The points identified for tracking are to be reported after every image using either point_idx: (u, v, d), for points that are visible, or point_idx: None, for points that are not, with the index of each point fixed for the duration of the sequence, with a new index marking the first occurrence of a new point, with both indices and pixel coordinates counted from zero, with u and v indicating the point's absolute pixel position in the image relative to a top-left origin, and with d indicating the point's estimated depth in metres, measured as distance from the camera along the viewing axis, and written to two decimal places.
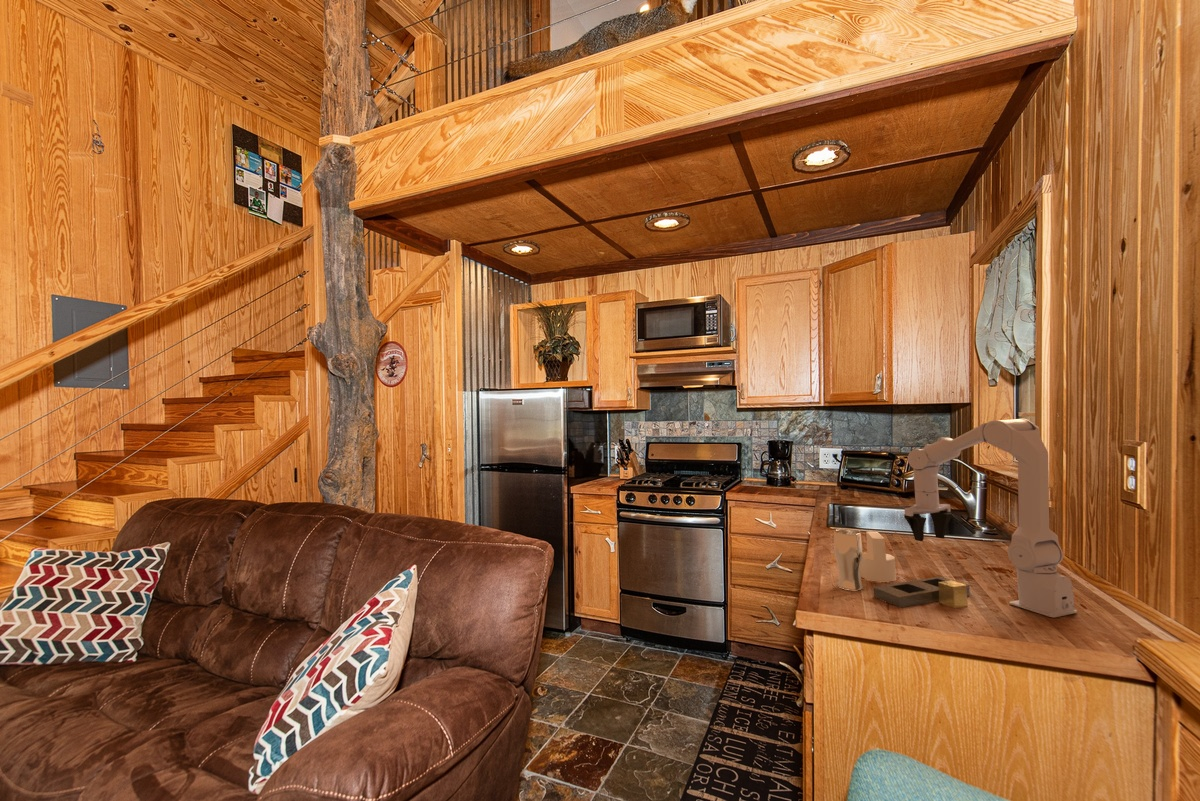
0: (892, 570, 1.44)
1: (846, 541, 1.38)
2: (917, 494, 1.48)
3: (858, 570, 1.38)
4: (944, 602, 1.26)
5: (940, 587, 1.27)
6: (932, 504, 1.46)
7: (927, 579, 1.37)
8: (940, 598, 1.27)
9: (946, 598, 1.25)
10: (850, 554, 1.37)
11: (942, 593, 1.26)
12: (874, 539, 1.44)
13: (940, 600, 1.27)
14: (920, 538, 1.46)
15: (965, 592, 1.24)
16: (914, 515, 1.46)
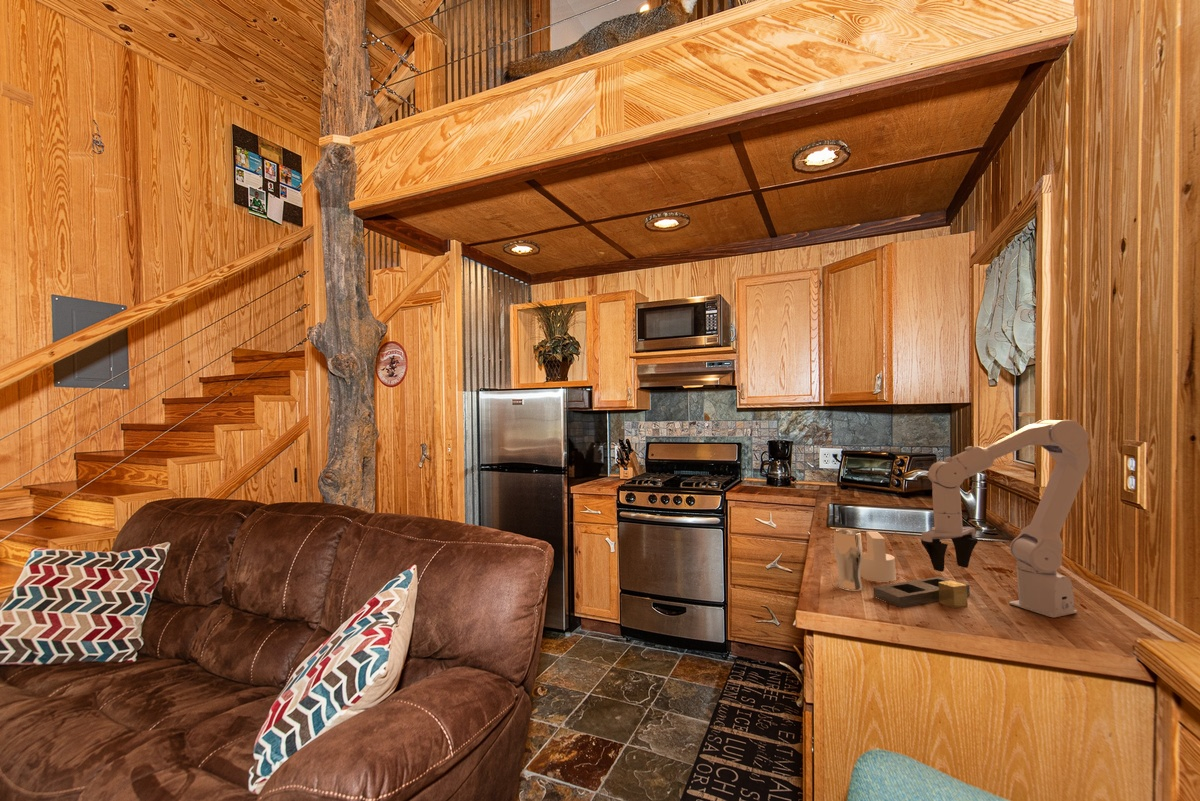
0: (892, 570, 1.44)
1: (846, 541, 1.38)
2: (936, 515, 1.26)
3: (858, 570, 1.38)
4: (944, 602, 1.26)
5: (940, 587, 1.27)
6: (954, 528, 1.23)
7: (927, 579, 1.37)
8: (940, 598, 1.27)
9: (946, 598, 1.25)
10: (850, 554, 1.37)
11: (942, 593, 1.26)
12: (874, 539, 1.44)
13: (940, 600, 1.27)
14: (940, 568, 1.24)
15: (965, 592, 1.24)
16: (933, 541, 1.24)
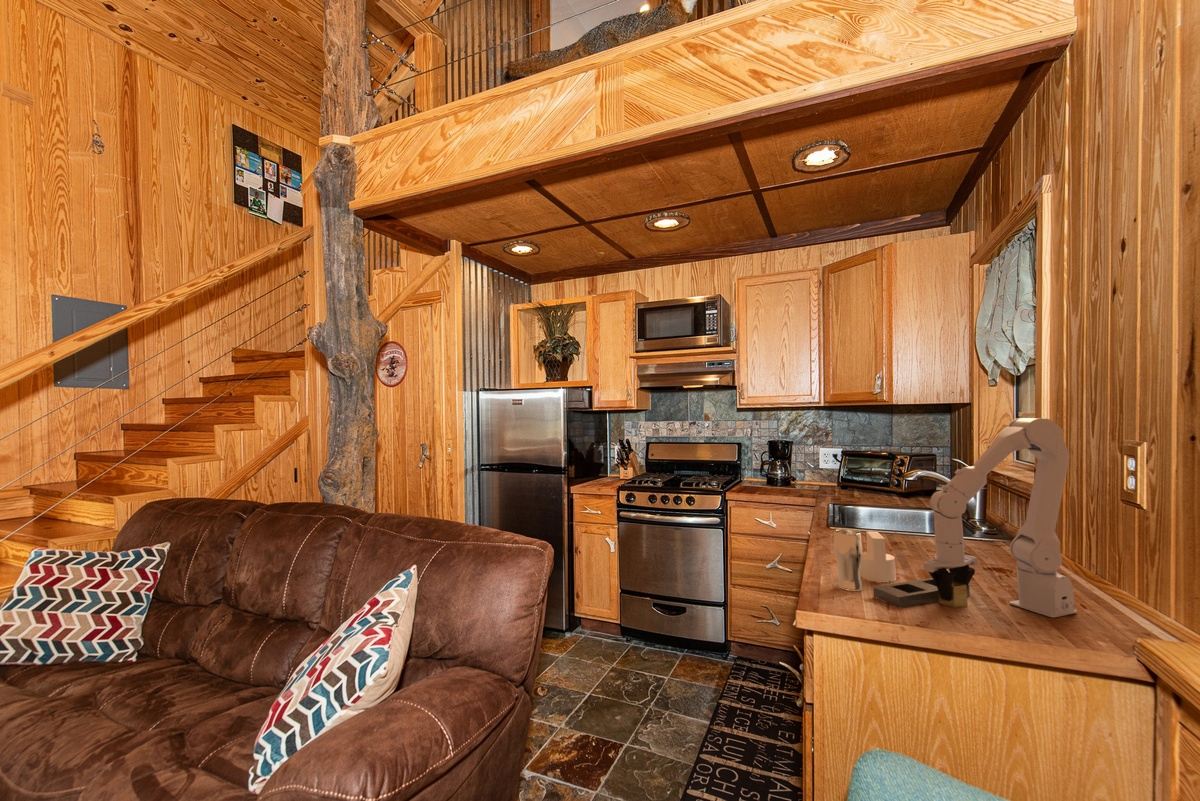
0: (892, 570, 1.44)
1: (846, 541, 1.38)
2: (938, 545, 1.26)
3: (858, 570, 1.38)
4: (944, 602, 1.26)
5: None
6: (956, 559, 1.23)
7: (927, 579, 1.37)
8: (940, 598, 1.27)
9: None
10: (850, 554, 1.37)
11: None
12: (874, 539, 1.44)
13: (940, 600, 1.27)
14: (947, 597, 1.24)
15: (965, 592, 1.24)
16: (940, 570, 1.24)
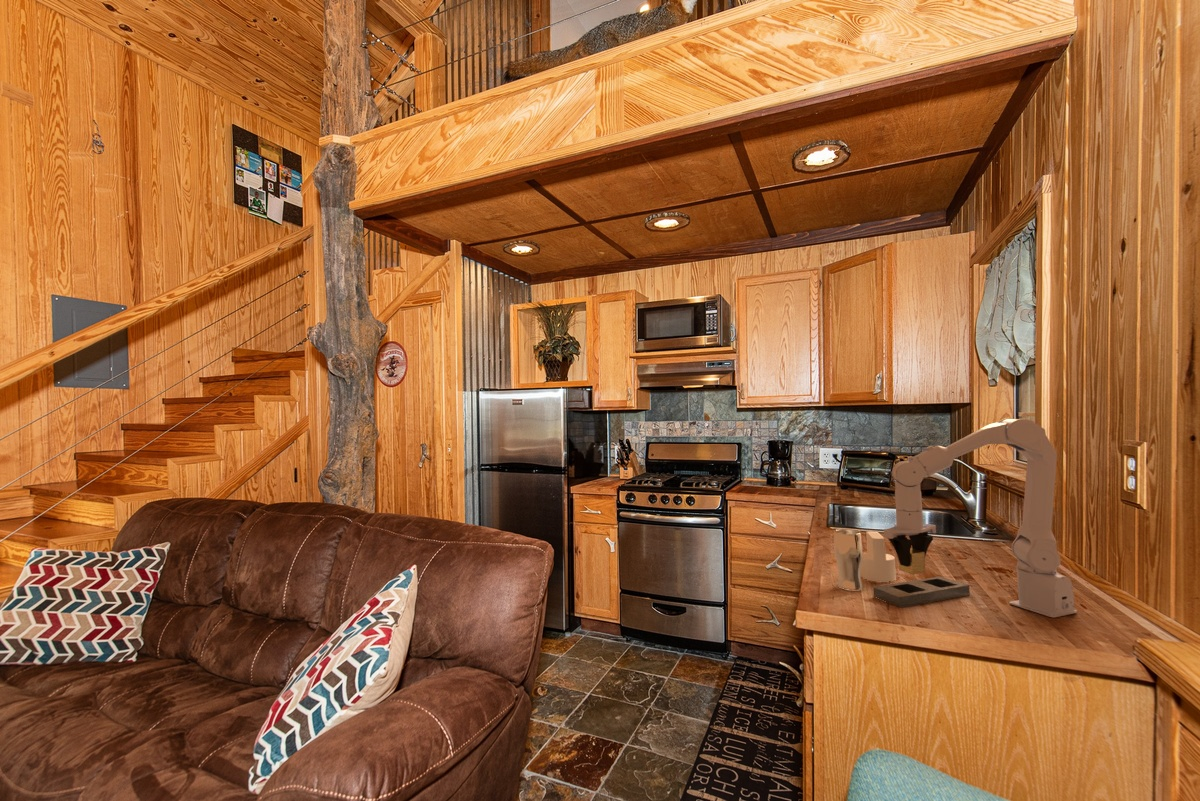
0: (892, 570, 1.44)
1: (846, 541, 1.38)
2: (898, 513, 1.30)
3: (858, 570, 1.38)
4: (903, 569, 1.30)
5: None
6: (914, 525, 1.28)
7: (927, 579, 1.37)
8: (900, 565, 1.31)
9: None
10: (850, 554, 1.37)
11: None
12: (874, 539, 1.44)
13: (900, 567, 1.31)
14: (906, 563, 1.29)
15: (923, 559, 1.29)
16: (899, 537, 1.28)
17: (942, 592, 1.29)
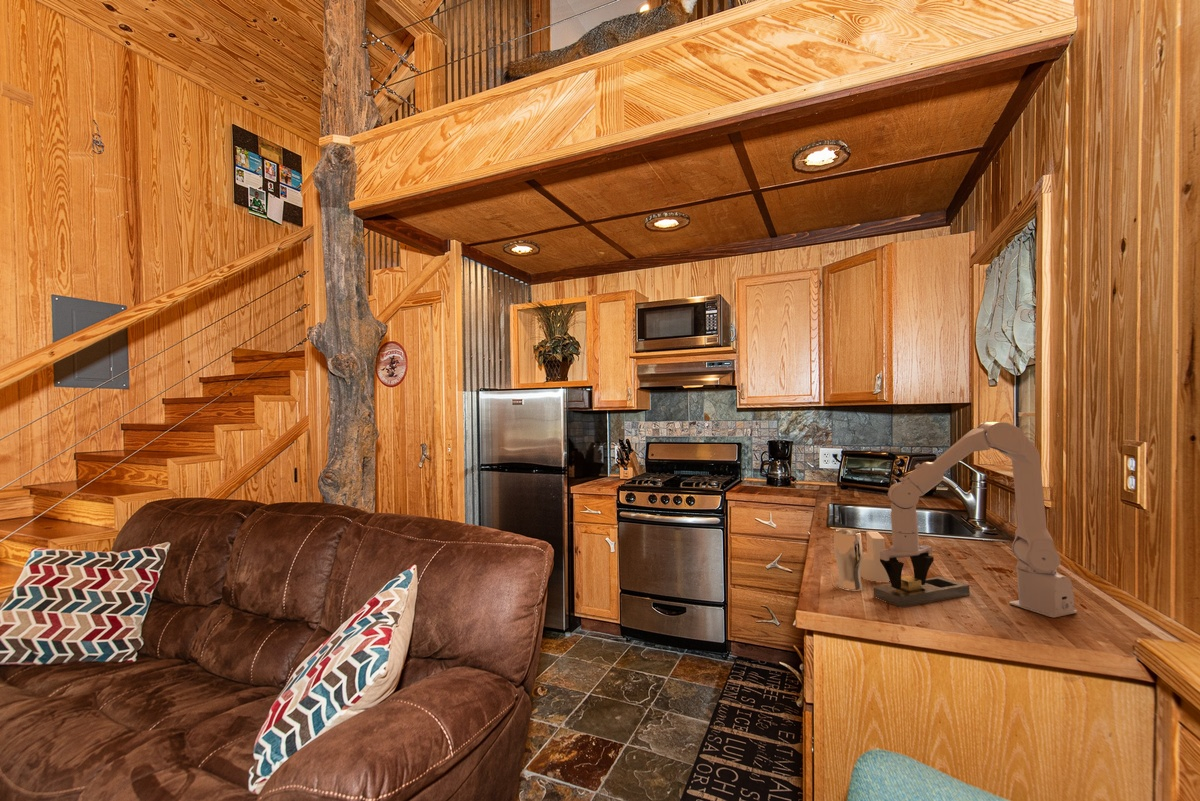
0: None
1: (846, 541, 1.38)
2: (894, 535, 1.31)
3: (858, 570, 1.38)
4: None
5: None
6: (910, 547, 1.28)
7: (927, 579, 1.37)
8: None
9: None
10: (850, 554, 1.37)
11: None
12: (874, 539, 1.44)
13: None
14: (897, 585, 1.29)
15: (920, 587, 1.29)
16: (890, 559, 1.28)
17: (942, 592, 1.29)
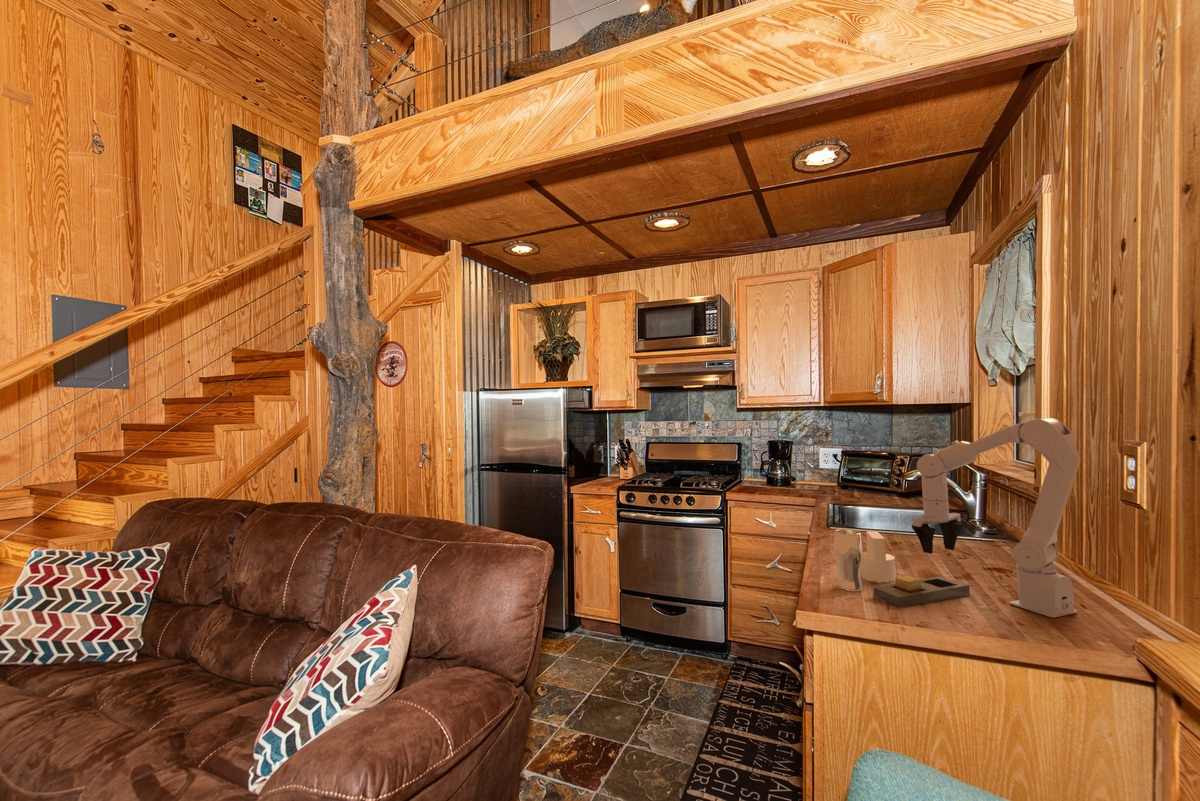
0: (892, 570, 1.44)
1: (846, 541, 1.38)
2: (925, 503, 1.38)
3: (858, 570, 1.38)
4: None
5: (897, 582, 1.32)
6: (941, 514, 1.36)
7: (927, 579, 1.37)
8: None
9: None
10: (850, 554, 1.37)
11: (898, 588, 1.31)
12: (874, 539, 1.44)
13: None
14: (929, 550, 1.36)
15: (920, 587, 1.29)
16: (923, 525, 1.36)
17: (942, 592, 1.29)
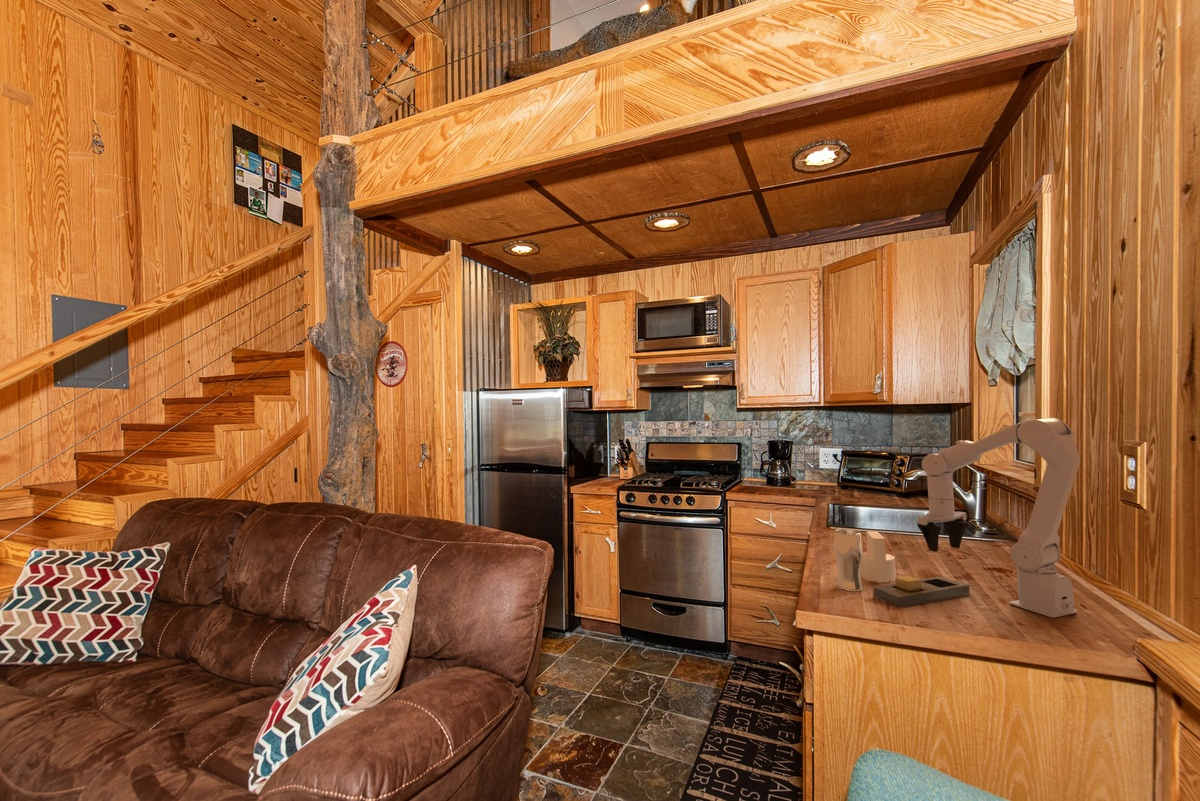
0: (892, 570, 1.44)
1: (846, 541, 1.38)
2: (931, 501, 1.40)
3: (858, 570, 1.38)
4: None
5: (897, 582, 1.32)
6: (947, 513, 1.37)
7: (927, 579, 1.37)
8: None
9: None
10: (850, 554, 1.37)
11: (898, 588, 1.31)
12: (874, 539, 1.44)
13: None
14: (934, 548, 1.38)
15: (920, 587, 1.29)
16: (928, 524, 1.37)
17: (942, 592, 1.29)
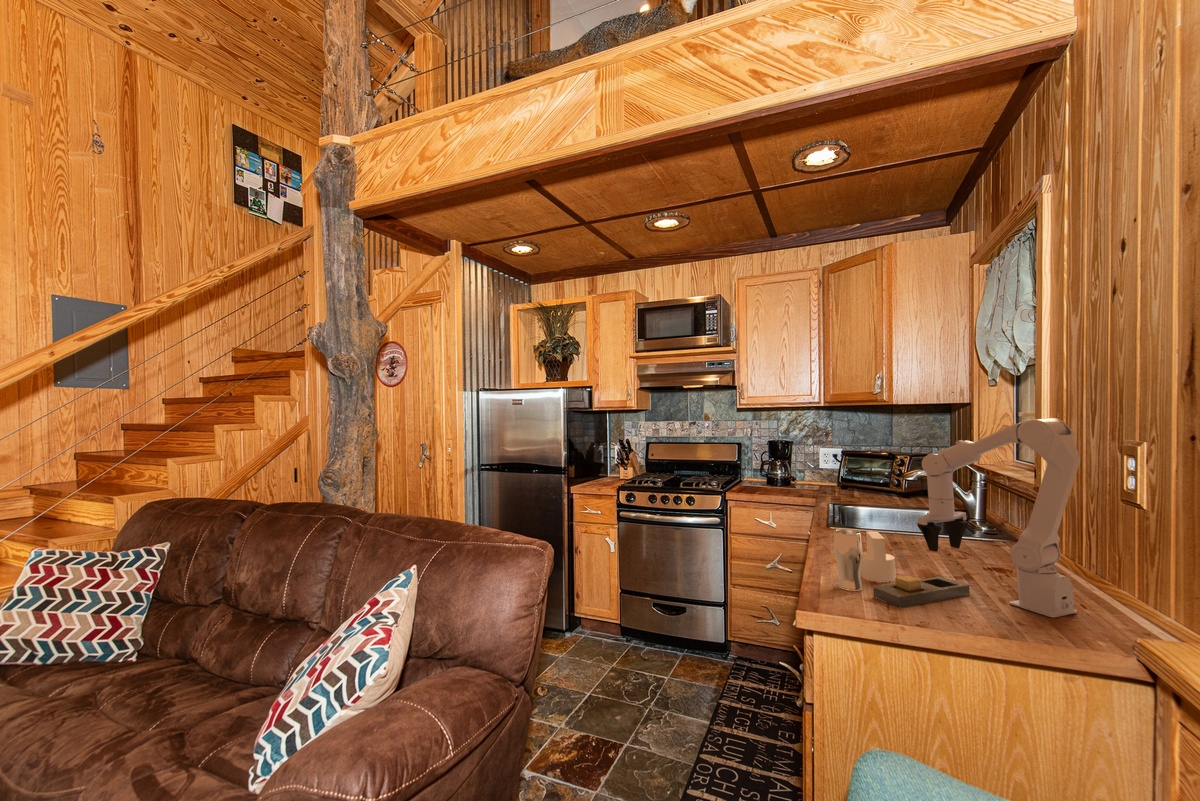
0: (892, 570, 1.44)
1: (846, 541, 1.38)
2: (931, 501, 1.40)
3: (858, 570, 1.38)
4: None
5: (897, 582, 1.32)
6: (947, 513, 1.37)
7: (927, 579, 1.37)
8: None
9: None
10: (850, 554, 1.37)
11: (898, 588, 1.31)
12: (874, 539, 1.44)
13: None
14: (934, 548, 1.38)
15: (920, 587, 1.29)
16: (928, 524, 1.37)
17: (942, 592, 1.29)
